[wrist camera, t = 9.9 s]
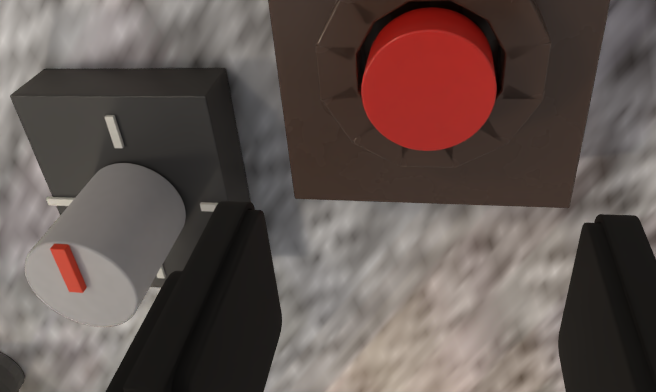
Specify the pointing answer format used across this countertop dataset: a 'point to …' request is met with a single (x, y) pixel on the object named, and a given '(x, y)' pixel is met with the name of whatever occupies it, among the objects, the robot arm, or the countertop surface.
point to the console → (138, 137)
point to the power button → (429, 79)
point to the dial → (107, 246)
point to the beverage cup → (10, 375)
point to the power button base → (460, 160)
